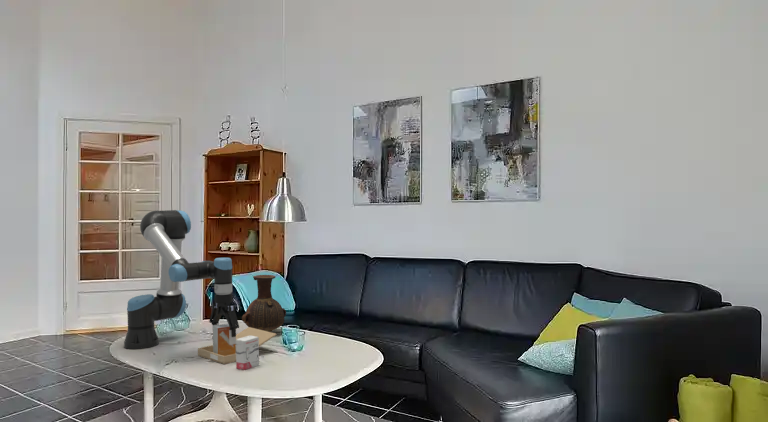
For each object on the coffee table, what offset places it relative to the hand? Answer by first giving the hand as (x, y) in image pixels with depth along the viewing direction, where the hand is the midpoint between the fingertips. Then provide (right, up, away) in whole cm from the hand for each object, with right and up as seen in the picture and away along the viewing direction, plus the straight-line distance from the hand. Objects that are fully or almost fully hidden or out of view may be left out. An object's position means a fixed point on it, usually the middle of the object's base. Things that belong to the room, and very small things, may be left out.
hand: (224, 341), depth 240 cm
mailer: (0, -7, 0) cm, 7 cm away
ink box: (+14, -7, -16) cm, 22 cm away
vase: (+8, -6, +43) cm, 44 cm away
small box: (0, -6, 0) cm, 6 cm away
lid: (+9, 0, +10) cm, 13 cm away
